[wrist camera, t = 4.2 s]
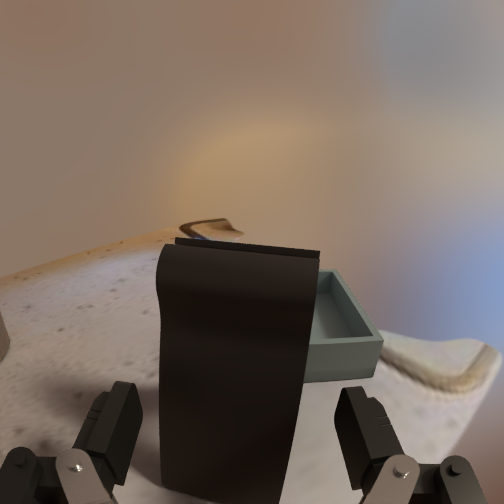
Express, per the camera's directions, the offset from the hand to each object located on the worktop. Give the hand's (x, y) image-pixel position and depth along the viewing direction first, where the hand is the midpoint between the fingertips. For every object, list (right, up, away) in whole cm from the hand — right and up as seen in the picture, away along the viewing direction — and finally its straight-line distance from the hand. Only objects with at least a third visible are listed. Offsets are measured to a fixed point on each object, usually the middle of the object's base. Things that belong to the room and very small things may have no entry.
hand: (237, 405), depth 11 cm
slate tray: (+3, -1, +16) cm, 17 cm away
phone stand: (0, -6, +5) cm, 7 cm away
